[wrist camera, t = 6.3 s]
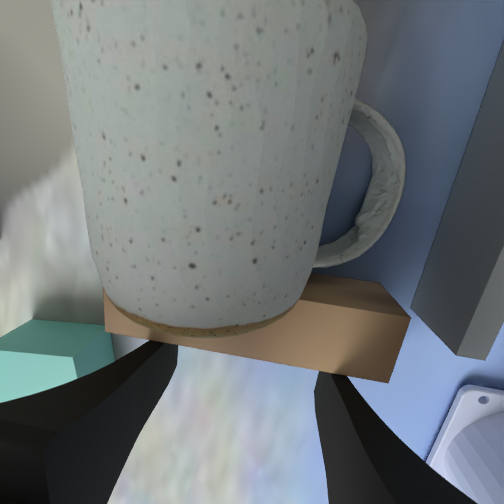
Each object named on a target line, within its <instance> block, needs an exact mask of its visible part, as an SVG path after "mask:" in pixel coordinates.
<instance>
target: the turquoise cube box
mask: <svg viewBox="0 0 504 504" xmlns="http://www.w3.org/2000/svg"><path fill="white" fill-rule="evenodd" d="M114 361H115V357H114V351H113V345H112V339H111V333H109V332H105V325H97V324H84V323H72V322H60V321H48V320H36V319H32V320H30V321H28V322H26V323H25V324H23V325H21V326H19V327H18V328H16V329H14V330H12V331H11V332H9V333H7V334H5V335H4V336H2V337H0V403H2V402H6V401H9V400H13V399H17V398H21V397H24V396H28V395H32V394H35V393H38V392H41V391H45V390H48V389H51V388H54V387H57V386H59V385H62V384H65V383H68V382H70V381H73V380H75V379H77V378H80V377H82V376H85V375H87V374H90V373H92V372H94V371H96V370H98V369H100V368H103V367H105V366H107V365H109V364H111V363H112V362H114Z"/></svg>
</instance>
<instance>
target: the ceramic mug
mask: <svg viewBox="0 0 504 504" xmlns="http://www.w3.org/2000/svg"><path fill="white" fill-rule="evenodd" d="M50 1H51V6H52V11H53V16H54V22H55V27H56V33H57V38H58V43H59V49H60V55H61V61H62V66H63V73H64V79H65V86H66V92H67V99H68V106H69V113H70V119H71V126H72V133H73V140H74V146H75V151H76V156H77V162H78V167H79V172H80V178H81V183H82V188H83V194H84V203H85V214H86V222H87V228H88V235H89V241H90V247H91V252H92V257H93V260H94V263H95V265H96V268H97V271H98V273H99V276H100V279H101V281H102V284H103V287H104V289H105V292H106V294H107V297H108V299H109V300H110V301H111V303H112V304H113V305H114V307H115V308H116V309H117V310H118V311H119V312H120V313H122V314H123V315H124V316H126V317H127V318H128V319H130V320H131V321H133V322H134V323H137V324H139V325H142V326H144V327H146V328H149V329H151V330H154V331H157V332H162V333H166V334H170V335H174V336H182V337H194V338H223V337H230V336H238V335H242V334H245V333H249V332H253V331H256V330H258V329H261V328H264V327H267V326H269V325H270V324H272V323H274V322H276V321H277V320H279V319H281V318H282V317H284V316H285V315H286V314H287V313H288V312H289V311H291V310H292V309H293V307H294V306H295V304H296V303H297V302H298V300H299V298H300V296H301V294H302V292H303V290H304V287H305V285H306V283H307V280H308V278H309V276H310V274H311V271H312V268H316V267H329V266H335V265H340V264H343V263H345V262H348V261H350V260H353V259H355V258H357V257H359V256H361V255H362V254H363V253H364V252H365V251H367V250H368V249H369V248H370V247H372V246H373V245H374V243H375V242H376V241H377V240H378V239H379V238H380V237H381V236H382V235H383V233H384V232H385V230H386V229H387V227H388V225H389V224H390V222H391V220H392V218H393V216H394V214H395V212H396V210H397V207H398V205H399V202H400V199H401V197H402V193H403V189H404V184H405V177H406V159H405V153H404V149H403V146H402V144H401V141H400V139H399V137H398V135H397V133H396V132H395V130H394V129H393V127H392V126H391V124H390V123H389V122H388V121H387V120H386V119H385V118H384V117H383V116H382V115H381V114H380V113H379V112H377V111H376V110H374V109H373V108H371V107H370V106H369V105H367V104H366V103H364V102H361V101H359V100H358V99H356V98H355V96H356V93H357V89H358V85H359V81H360V77H361V73H362V68H363V64H364V60H365V54H366V47H367V41H368V31H367V27H366V23H365V21H364V18H363V16H362V13H361V11H360V8H359V7H358V5H357V3H356V2H354V1H353V0H50ZM348 124H349V125H351V126H352V127H353V128H354V129H355V130H356V131H357V132H358V133H360V134H361V135H362V136H363V138H364V139H365V141H366V143H367V145H368V146H369V150H370V152H371V154H372V160H373V163H372V170H373V173H372V176H371V181H370V184H369V187H368V190H367V193H366V196H365V198H364V201H363V204H362V207H361V210H360V212H359V213H358V214H357V216H356V217H355V222H354V226H353V227H352V228H351V229H350V230H349V231H348V232H347V233H346V234H345V235H344V236H342V237H341V238H339V239H338V240H336V241H334V242H332V243H329V244H324V245H322V246H319V241H320V237H321V232H322V227H323V221H324V217H325V212H326V207H327V203H328V200H329V196H330V192H331V188H332V185H333V181H334V177H335V174H336V170H337V166H338V162H339V158H340V154H341V150H342V146H343V142H344V138H345V134H346V131H347V127H348ZM318 246H319V247H318Z"/></svg>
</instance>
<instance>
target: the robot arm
mask: <svg viewBox="0 0 504 504" xmlns="http://www.w3.org/2000/svg"><path fill="white" fill-rule="evenodd" d="M177 357H178V345H175V344H170V343H164V342H159V341H153V340H149V341H148V342H146V343H145V344H143V345H142V346H140V347H138V348H137V349H135V350H134V351H132V352H130V353H128V354H127V355H125V356H123V357H121V358H120V359H118V360H116V361H114V362H112V363H111V364H109V365H107V366H105V367H103V368H100V369H98V370H96V371H94V372H92V373H90V374H87V375H85V376H82V377H80V378H77V379H75V380H73V381H70V382H68V383H65V384H62V385H59V386H57V387H54V388H51V389H48V390H45V391H41V392H38V393H35V394H32V395H28V396H24V397H21V398H17V399H13V400H9V401H6V402H2V403H0V504H107V502H108V500H109V498H110V496H111V493H112V491H113V489H114V486H115V484H116V482H117V480H118V478H119V476H120V473H121V471H122V469H123V467H124V465H125V463H126V460H127V458H128V456H129V454H130V452H131V450H132V448H133V446H134V444H135V442H136V439H137V437H138V436H139V434H140V432H141V430H142V428H143V426H144V425H145V423H146V421H147V420H148V418H149V416H150V415H151V413H152V411H153V410H154V408H155V406H156V405H157V403H158V401H159V399H160V398H161V396H162V394H163V393H164V391H165V389H166V387H167V386H168V384H169V382H170V380H171V377H172V375H173V373H174V371H175V368H176V366H177ZM481 396H482V397H481ZM314 398H315V413H316V419H317V425H318V431H319V436H320V442H321V448H322V453H323V459H324V464H325V471H326V478H327V488H328V499H329V504H504V391H503V390H498V389H493V388H487V387H482V386H476V385H465V386H463V387H461V388H460V389H459V391H458V393H457V395H456V397H455V400H454V402H453V404H452V406H451V408H450V411H449V413H448V415H447V417H446V419H445V421H444V424H443V426H442V428H441V430H440V432H439V434H438V437H437V439H436V441H435V443H434V445H433V447H432V450H431V452H430V454H429V456H428V458H427V461H426V462H424V461H423V460H422V459H421V458H420V457H419V456H418V455H417V454H415V453H414V452H413V451H412V450H411V449H410V448H409V447H408V446H407V445H406V444H405V443H404V442H403V441H402V440H401V439H399V438H398V437H397V436H396V435H395V433H394V432H393V431H392V430H391V429H390V428H389V427H388V426H387V425H386V424H385V423H384V422H383V421H382V420H381V419H380V418H379V416H378V415H377V414H376V413H375V412H374V411H373V409H372V408H371V407H370V406H369V405H368V403H367V402H366V401H365V400H364V398H363V397H362V396H361V395H360V393H359V392H358V391H357V389H356V388H355V387H354V385H353V384H352V383H351V381H350V380H349V378H348V377H347V376H345V375H340V374H334V373H329V372H323V371H319V374H318V378H317V382H316V386H315V390H314Z"/></svg>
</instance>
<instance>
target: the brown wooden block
mask: <svg viewBox="0 0 504 504" xmlns="http://www.w3.org/2000/svg"><path fill="white" fill-rule="evenodd" d="M103 300H104V319H105V332H109V333H115V334H120V335H126V336H131V337H137V338H142V339H148V340H153V341H159V342H164V343H170V344H175V345H181V346H186V347H192V348H197V349H203V350H208V351H214V352H219V353H225V354H230V355H236V356H241V357H247V358H252V359H258V360H263V361H269V362H274V363H280V364H285V365H291V366H296V367H301V368H307V369H312V370H318V371H323V372H329V373H334V374H340V375H345V376H351V377H356V378H362V379H367V380H373V381H378V382H384V383H389V380H390V377H391V374H392V372H393V369H394V366H395V363H396V360H397V357H398V354H399V351H400V349H401V346H402V343H403V340H404V337H405V334H406V331H407V328H408V325H409V323H410V320H411V317H410V316H409V315H408V314H407V313H406V312H405V311H404V309H403V308H402V307H401V306H400V305H399V304H398V303H397V302H396V301H395V299H394V298H393V297H392V296H391V295H390V294H389V293H388V292H387V291H386V289H385V288H384V287H383V286H382V285H381V284H380V283H377V282H370V281H364V280H357V279H351V278H345V277H338V276H332V275H325V274H319V273H312V272H311V274H310V276H309V278H308V280H307V283H306V285H305V287H304V290H303V292H302V294H301V296H300V298H299V300H298V302H297V303H296V304H295V306H294V307H293V309H292V310H291V311H289V312H288V313H287V314H286V315H285V316H284V317H282V318H281V319H279V320H277V321H276V322H274V323H272V324H270V325H269V326H267V327H264V328H261V329H258V330H256V331H253V332H249V333H245V334H242V335H238V336H230V337H223V338H194V337H182V336H174V335H170V334H166V333H162V332H157V331H154V330H151V329H149V328H146V327H144V326H142V325H139V324H137V323H134V322H133V321H131V320H130V319H128V318H127V317H126V316H124V315H123V314H122V313H120V312H119V311H118V310H117V309H116V308H115V307H114V305H113V304H112V303H111V301H110V300H109V299H108V297H107V294H106V292H105V289H104V287H103Z"/></svg>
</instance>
